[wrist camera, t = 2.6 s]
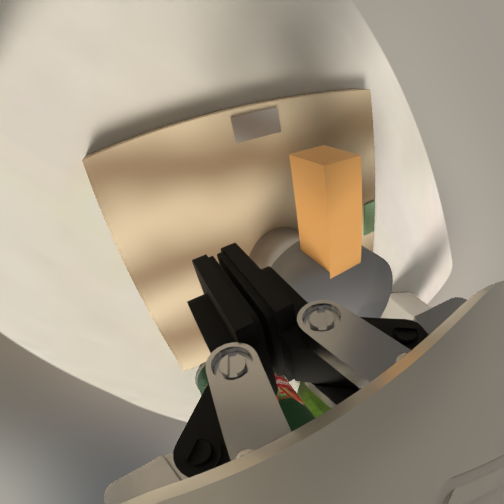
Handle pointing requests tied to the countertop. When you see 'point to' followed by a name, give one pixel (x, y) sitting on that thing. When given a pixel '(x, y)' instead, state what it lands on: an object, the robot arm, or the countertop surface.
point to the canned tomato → (286, 398)
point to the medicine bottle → (404, 306)
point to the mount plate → (219, 194)
